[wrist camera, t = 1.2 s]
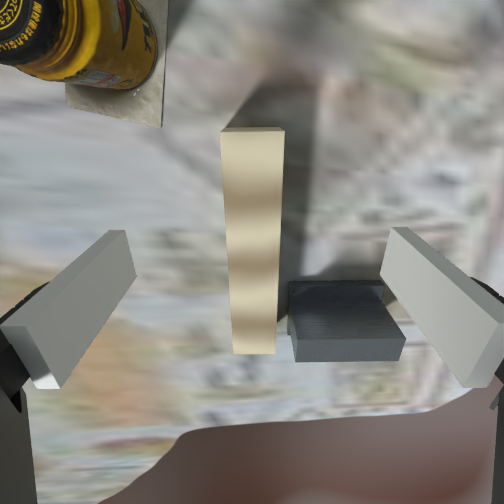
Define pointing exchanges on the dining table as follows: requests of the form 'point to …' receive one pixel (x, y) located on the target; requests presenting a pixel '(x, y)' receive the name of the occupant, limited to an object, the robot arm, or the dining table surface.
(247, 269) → the bar
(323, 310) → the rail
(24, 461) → the robot arm
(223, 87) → the dining table surface
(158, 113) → the condiment
